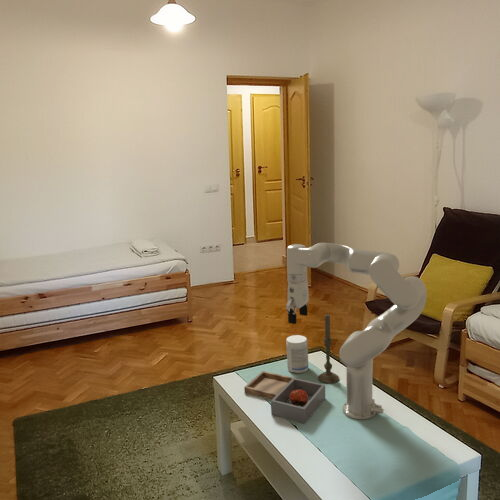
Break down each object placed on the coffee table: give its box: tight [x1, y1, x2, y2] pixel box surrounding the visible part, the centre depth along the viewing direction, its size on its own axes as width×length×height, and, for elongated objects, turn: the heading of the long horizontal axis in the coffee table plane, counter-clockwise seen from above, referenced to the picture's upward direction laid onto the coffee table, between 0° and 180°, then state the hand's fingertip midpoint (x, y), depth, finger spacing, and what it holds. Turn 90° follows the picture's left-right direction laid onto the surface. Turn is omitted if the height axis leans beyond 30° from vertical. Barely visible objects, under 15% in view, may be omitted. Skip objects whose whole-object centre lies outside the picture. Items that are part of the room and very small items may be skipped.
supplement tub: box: [285, 334, 309, 374], centre depth 219 cm, size 10×10×15 cm
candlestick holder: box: [317, 313, 340, 385], centre depth 206 cm, size 9×9×30 cm
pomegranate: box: [288, 387, 309, 407], centre depth 188 cm, size 7×7×10 cm
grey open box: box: [270, 377, 326, 425], centre depth 188 cm, size 14×20×6 cm
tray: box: [243, 370, 294, 401], centre depth 204 cm, size 16×16×3 cm
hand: (298, 319), depth 188 cm, fingers open, 9 cm apart
